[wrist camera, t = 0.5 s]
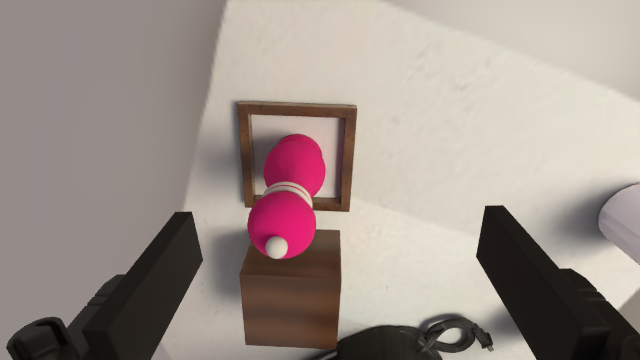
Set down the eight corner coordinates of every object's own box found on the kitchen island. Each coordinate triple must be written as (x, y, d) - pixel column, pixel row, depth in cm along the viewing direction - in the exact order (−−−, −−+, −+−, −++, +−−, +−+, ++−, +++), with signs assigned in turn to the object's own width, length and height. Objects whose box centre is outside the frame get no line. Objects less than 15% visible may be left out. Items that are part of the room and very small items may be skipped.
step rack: (240, 100, 42) (215, 125, 33) (356, 105, 42) (362, 130, 33) (253, 290, 55) (238, 344, 46) (342, 294, 55) (344, 350, 46)
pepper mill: (286, 190, 47) (258, 300, 29) (259, 144, 45) (210, 235, 27) (335, 169, 46) (336, 272, 28) (310, 120, 43) (294, 200, 25)
